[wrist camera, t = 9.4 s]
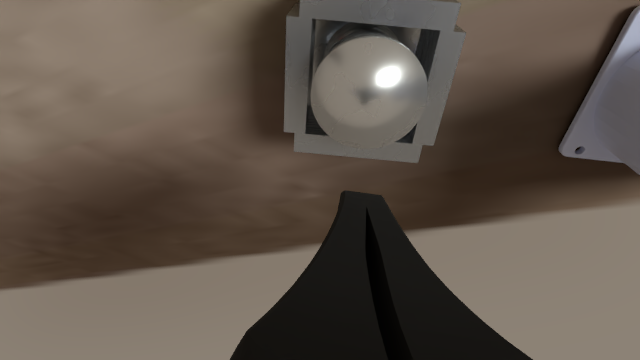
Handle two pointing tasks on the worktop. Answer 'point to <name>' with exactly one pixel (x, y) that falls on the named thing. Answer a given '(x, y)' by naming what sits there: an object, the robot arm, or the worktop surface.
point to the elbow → (382, 9)
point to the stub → (367, 82)
